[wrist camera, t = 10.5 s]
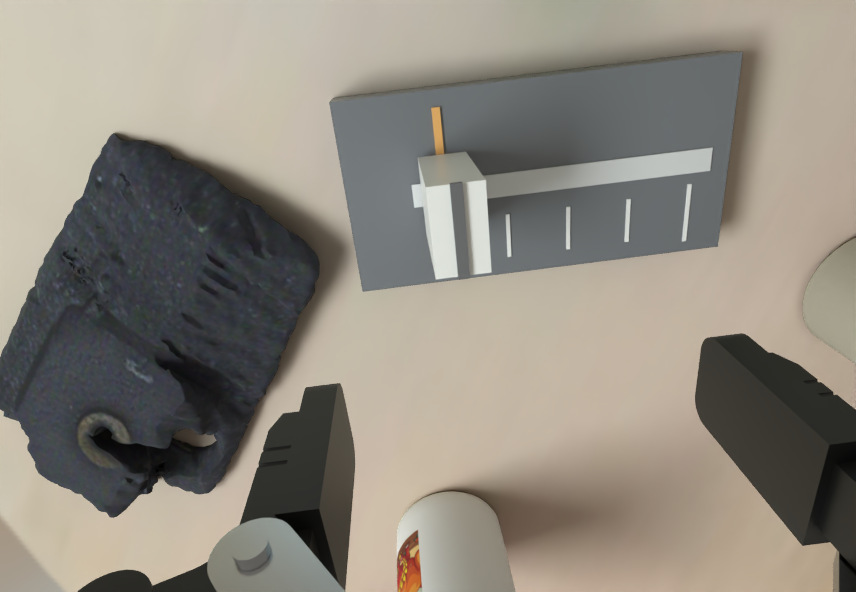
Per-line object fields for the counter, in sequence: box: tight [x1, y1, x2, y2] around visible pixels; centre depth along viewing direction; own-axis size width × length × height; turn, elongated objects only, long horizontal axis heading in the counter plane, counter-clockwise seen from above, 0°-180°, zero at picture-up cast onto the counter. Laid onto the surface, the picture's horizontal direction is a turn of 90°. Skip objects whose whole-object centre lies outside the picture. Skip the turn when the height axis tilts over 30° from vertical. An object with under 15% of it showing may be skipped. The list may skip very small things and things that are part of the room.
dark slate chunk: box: [0, 133, 319, 517], centre depth 31 cm, size 15×22×5 cm
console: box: [329, 51, 743, 292], centre depth 29 cm, size 20×10×2 cm, turn 96°
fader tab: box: [418, 152, 492, 280], centre depth 25 cm, size 2×4×6 cm, turn 6°
